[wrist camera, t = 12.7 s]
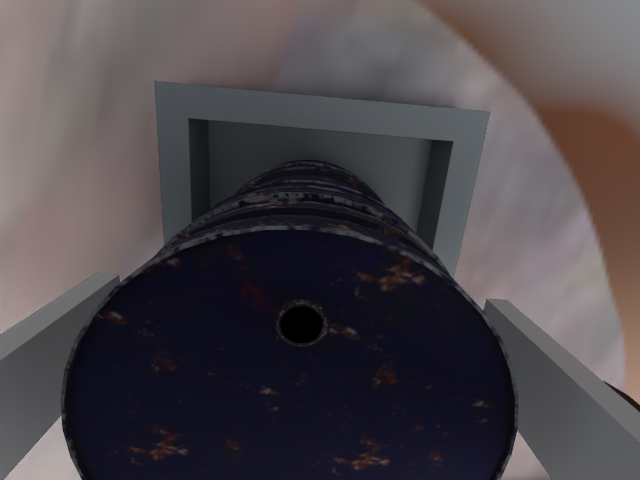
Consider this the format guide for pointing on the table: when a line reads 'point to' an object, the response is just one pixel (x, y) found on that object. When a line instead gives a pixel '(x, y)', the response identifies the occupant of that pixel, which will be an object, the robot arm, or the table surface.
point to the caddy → (319, 152)
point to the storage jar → (291, 350)
